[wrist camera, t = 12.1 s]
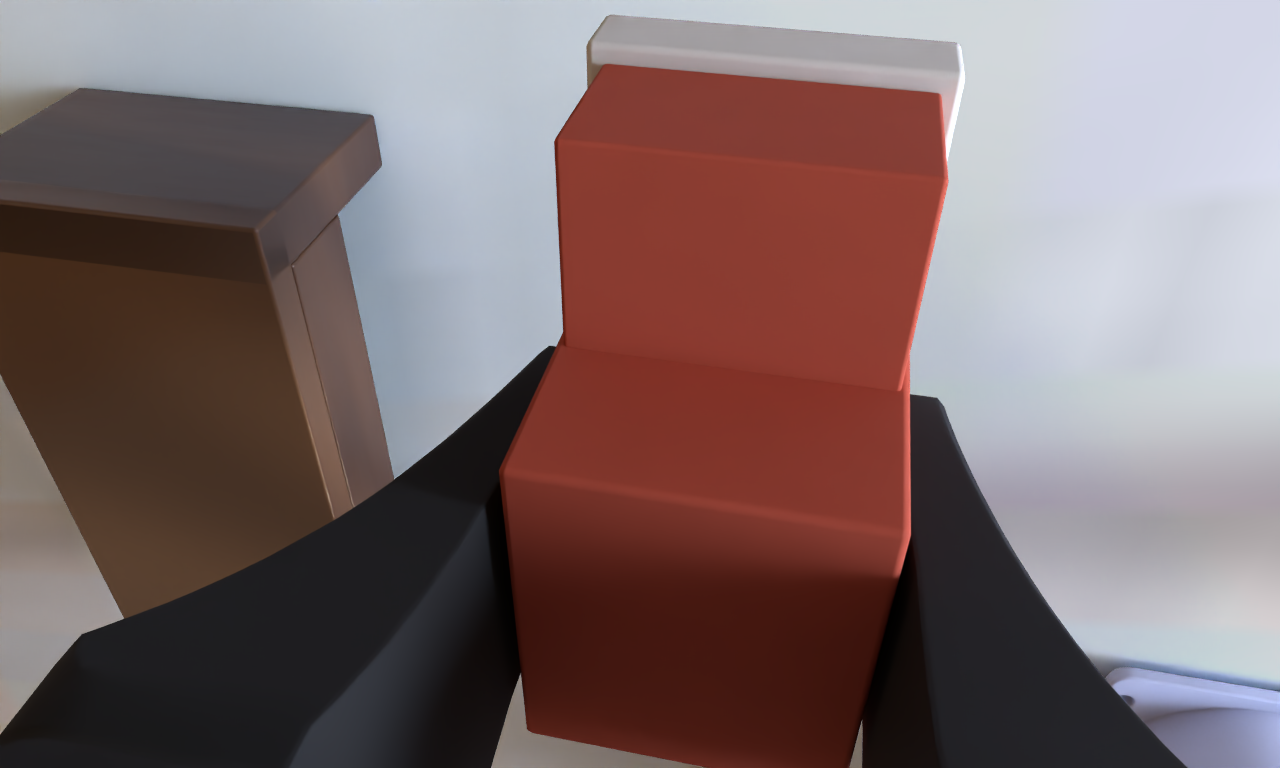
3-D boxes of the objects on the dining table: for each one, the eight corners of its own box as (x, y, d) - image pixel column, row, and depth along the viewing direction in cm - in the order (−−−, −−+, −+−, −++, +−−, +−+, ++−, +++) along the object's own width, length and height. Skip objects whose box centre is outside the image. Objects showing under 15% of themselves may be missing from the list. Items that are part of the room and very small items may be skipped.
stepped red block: (862, 504, 15) (848, 808, 11) (610, 466, 16) (518, 742, 12) (962, 41, 11) (995, 284, 7) (606, 11, 11) (454, 220, 8)
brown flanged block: (451, 560, 29) (384, 703, 26) (237, 524, 31) (142, 657, 27) (374, 113, 21) (255, 229, 17) (79, 86, 22) (-96, 189, 18)
